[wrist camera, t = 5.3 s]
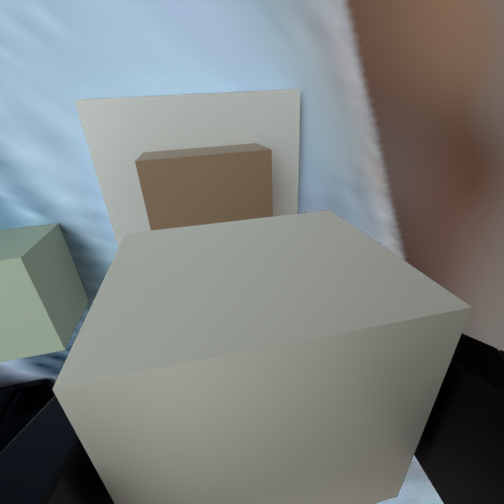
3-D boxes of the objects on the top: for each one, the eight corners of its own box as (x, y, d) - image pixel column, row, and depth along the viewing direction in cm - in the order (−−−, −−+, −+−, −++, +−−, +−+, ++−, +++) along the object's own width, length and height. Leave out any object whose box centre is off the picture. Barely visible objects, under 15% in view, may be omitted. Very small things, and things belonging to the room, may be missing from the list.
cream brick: (317, 351, 11) (397, 496, 7) (165, 382, 10) (152, 572, 6) (330, 210, 8) (471, 306, 4) (125, 233, 7) (52, 389, 3)
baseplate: (291, 262, 21) (313, 292, 17) (135, 287, 19) (124, 327, 15) (293, 89, 16) (325, 84, 12) (81, 100, 14) (47, 96, 10)
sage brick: (89, 300, 19) (65, 350, 15) (-5, 315, 18) (-57, 373, 14) (59, 222, 16) (20, 257, 12) (-52, 235, 15) (-132, 278, 11)
